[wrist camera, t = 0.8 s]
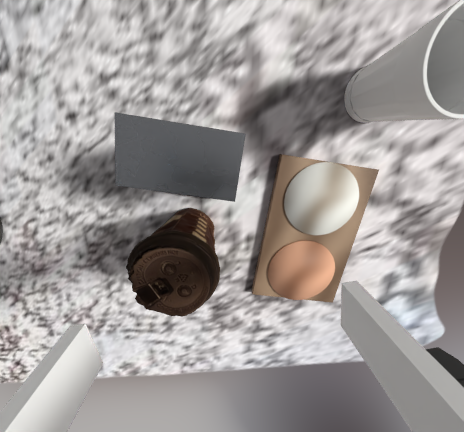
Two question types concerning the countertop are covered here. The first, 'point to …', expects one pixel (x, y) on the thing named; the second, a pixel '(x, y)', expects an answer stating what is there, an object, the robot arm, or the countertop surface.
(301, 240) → the walnut board
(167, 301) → the coffee cup
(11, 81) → the countertop surface
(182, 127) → the miniature fireplace
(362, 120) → the cup
